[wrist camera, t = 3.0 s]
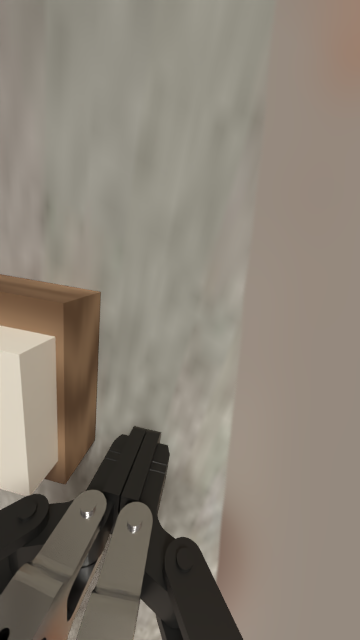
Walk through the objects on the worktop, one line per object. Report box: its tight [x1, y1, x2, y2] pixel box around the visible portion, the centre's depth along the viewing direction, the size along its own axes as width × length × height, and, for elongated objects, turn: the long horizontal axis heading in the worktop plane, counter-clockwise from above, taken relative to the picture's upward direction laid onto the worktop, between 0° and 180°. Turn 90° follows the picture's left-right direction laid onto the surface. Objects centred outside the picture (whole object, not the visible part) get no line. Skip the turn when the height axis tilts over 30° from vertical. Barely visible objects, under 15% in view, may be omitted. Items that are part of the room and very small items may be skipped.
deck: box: [0, 274, 101, 484], centre depth 16 cm, size 13×9×4 cm
